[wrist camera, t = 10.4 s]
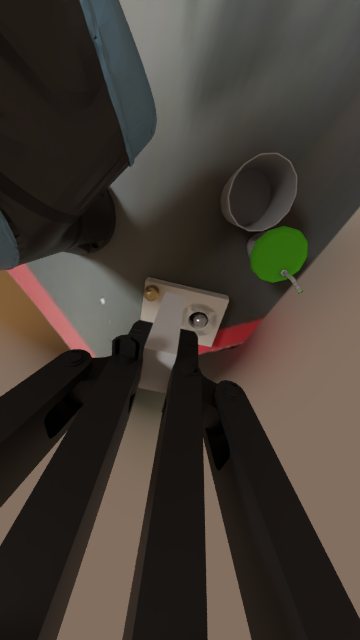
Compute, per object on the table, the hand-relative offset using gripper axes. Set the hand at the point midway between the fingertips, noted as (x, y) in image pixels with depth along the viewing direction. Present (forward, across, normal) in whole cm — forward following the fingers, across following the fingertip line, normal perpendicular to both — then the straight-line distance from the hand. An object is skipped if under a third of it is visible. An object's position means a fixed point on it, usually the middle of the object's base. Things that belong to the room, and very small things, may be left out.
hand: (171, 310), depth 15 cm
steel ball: (+25, +6, -14) cm, 29 cm away
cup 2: (+27, +13, +4) cm, 30 cm away
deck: (+26, +2, -14) cm, 30 cm away
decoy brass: (+22, -5, -9) cm, 25 cm away
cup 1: (+27, +8, +10) cm, 30 cm away
